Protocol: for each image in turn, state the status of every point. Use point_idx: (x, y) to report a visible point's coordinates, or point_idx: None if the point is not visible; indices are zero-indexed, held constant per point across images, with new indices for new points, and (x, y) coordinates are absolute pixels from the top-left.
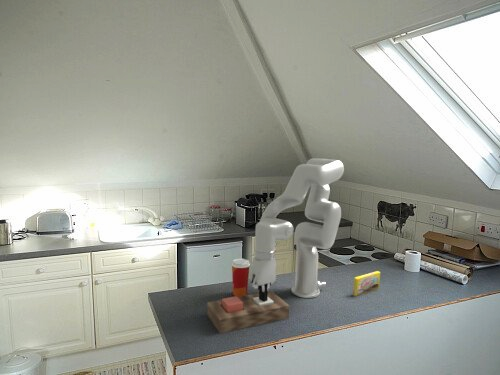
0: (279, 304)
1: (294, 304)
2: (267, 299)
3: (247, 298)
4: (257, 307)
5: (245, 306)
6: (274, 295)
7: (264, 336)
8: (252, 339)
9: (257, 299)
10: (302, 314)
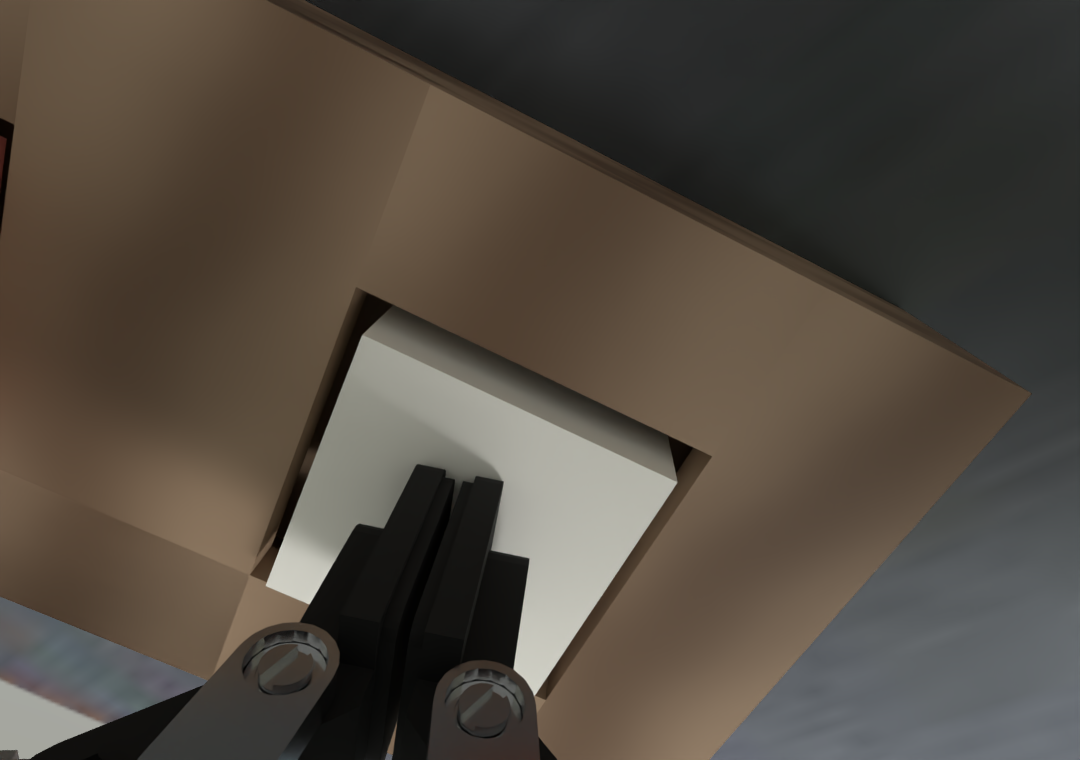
0: (558, 752)
1: (1024, 595)
2: (526, 585)
3: (305, 203)
4: (207, 566)
5: (46, 400)
6: (831, 550)
7: (140, 670)
8: (9, 619)
9: (380, 447)
10: (800, 754)
